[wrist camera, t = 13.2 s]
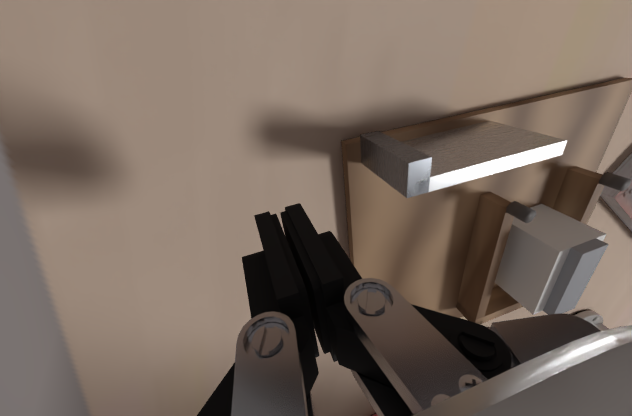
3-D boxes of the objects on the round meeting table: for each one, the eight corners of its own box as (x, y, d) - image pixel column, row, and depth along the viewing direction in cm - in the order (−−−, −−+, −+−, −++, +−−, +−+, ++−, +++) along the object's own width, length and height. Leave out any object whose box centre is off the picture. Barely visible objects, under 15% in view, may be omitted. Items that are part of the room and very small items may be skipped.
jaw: (541, 203, 25) (619, 240, 20) (522, 261, 29) (583, 304, 24) (500, 217, 24) (571, 258, 20) (486, 275, 28) (542, 322, 23)
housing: (624, 77, 22) (710, 83, 18) (541, 278, 34) (583, 307, 30) (341, 140, 17) (377, 166, 13) (356, 349, 29) (378, 395, 25)
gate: (493, 105, 19) (574, 121, 14) (487, 132, 19) (562, 154, 15) (360, 134, 17) (408, 163, 12) (361, 163, 18) (406, 198, 13)
